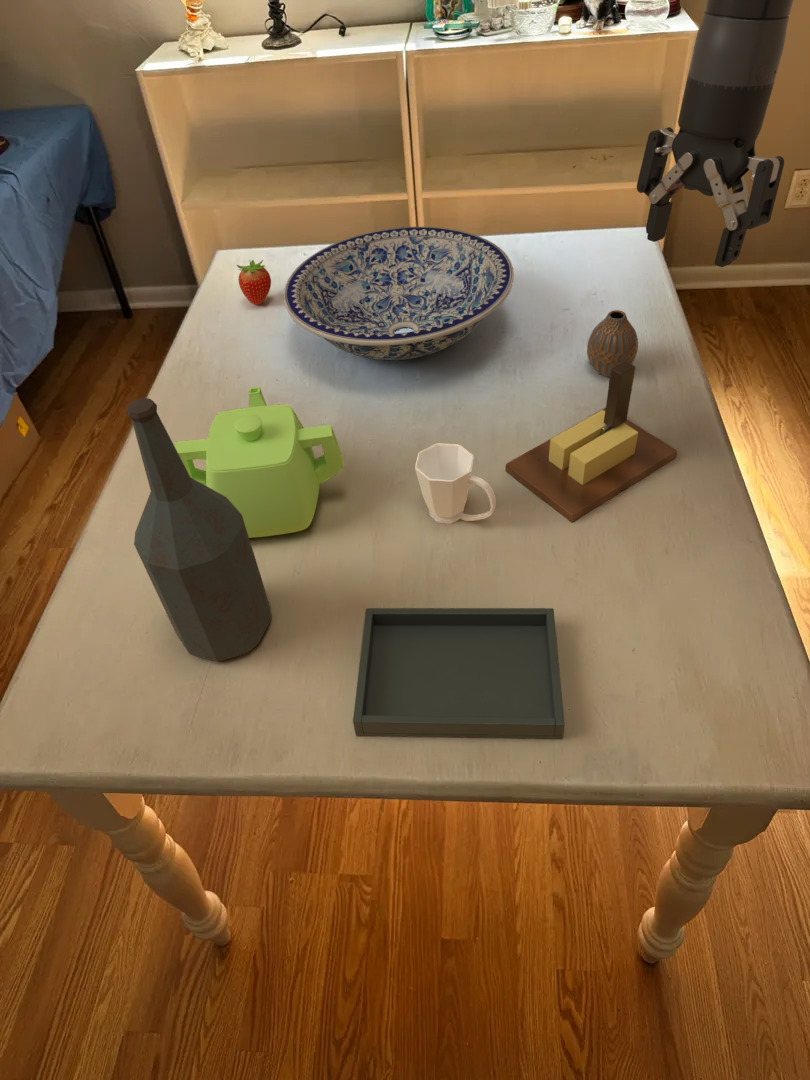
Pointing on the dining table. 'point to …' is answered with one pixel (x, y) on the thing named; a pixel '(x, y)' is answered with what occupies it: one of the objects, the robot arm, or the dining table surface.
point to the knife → (618, 395)
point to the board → (584, 498)
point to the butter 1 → (575, 439)
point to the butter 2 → (602, 453)
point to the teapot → (265, 464)
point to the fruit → (254, 282)
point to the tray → (459, 673)
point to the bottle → (196, 551)
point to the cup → (449, 482)
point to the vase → (612, 343)
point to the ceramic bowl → (399, 290)
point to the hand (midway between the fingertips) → (688, 251)
